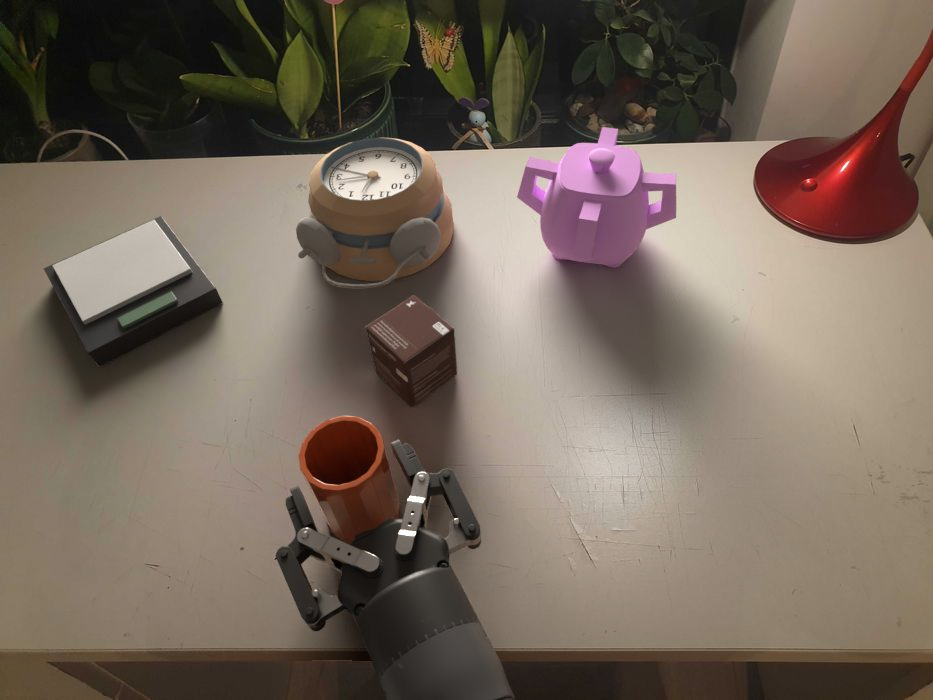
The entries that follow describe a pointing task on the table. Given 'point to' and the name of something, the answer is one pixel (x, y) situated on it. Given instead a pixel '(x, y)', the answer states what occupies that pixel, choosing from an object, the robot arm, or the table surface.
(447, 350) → the box
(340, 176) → the alarm clock
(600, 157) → the pot
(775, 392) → the table surface
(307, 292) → the table surface
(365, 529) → the cup
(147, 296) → the scale
